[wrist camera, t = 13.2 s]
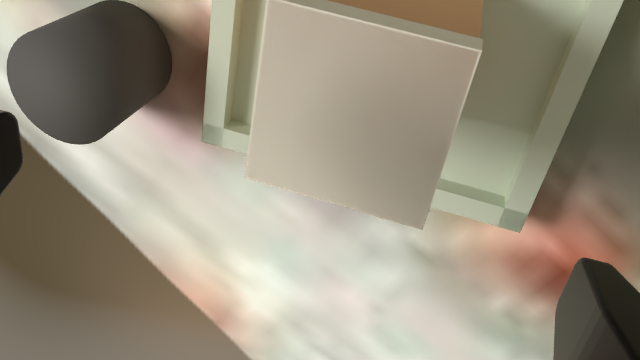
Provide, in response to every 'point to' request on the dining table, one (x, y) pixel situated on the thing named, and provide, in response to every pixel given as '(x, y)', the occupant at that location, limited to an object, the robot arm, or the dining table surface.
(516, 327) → the dining table surface
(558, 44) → the tray
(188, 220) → the dining table surface
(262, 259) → the dining table surface
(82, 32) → the dark rounded cylinder
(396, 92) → the square block
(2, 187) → the robot arm
